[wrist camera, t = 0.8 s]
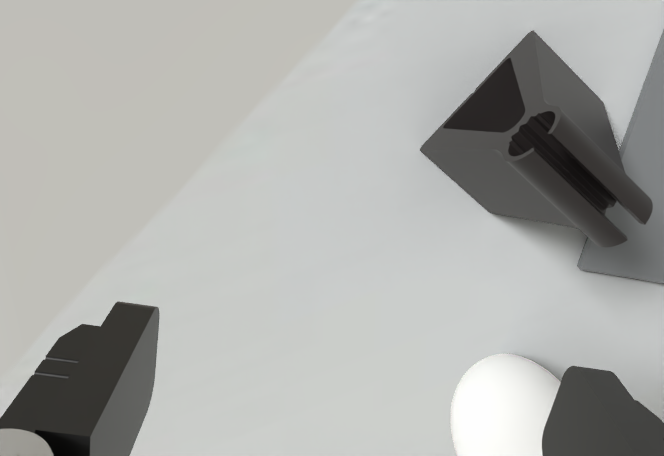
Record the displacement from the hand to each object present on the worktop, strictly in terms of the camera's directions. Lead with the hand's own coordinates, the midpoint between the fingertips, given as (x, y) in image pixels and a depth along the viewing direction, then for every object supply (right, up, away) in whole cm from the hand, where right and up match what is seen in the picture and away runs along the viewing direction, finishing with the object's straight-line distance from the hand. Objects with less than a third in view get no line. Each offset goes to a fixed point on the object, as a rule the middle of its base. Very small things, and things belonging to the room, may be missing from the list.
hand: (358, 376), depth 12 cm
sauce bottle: (+11, -7, +31) cm, 34 cm away
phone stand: (+10, +9, +25) cm, 28 cm away
